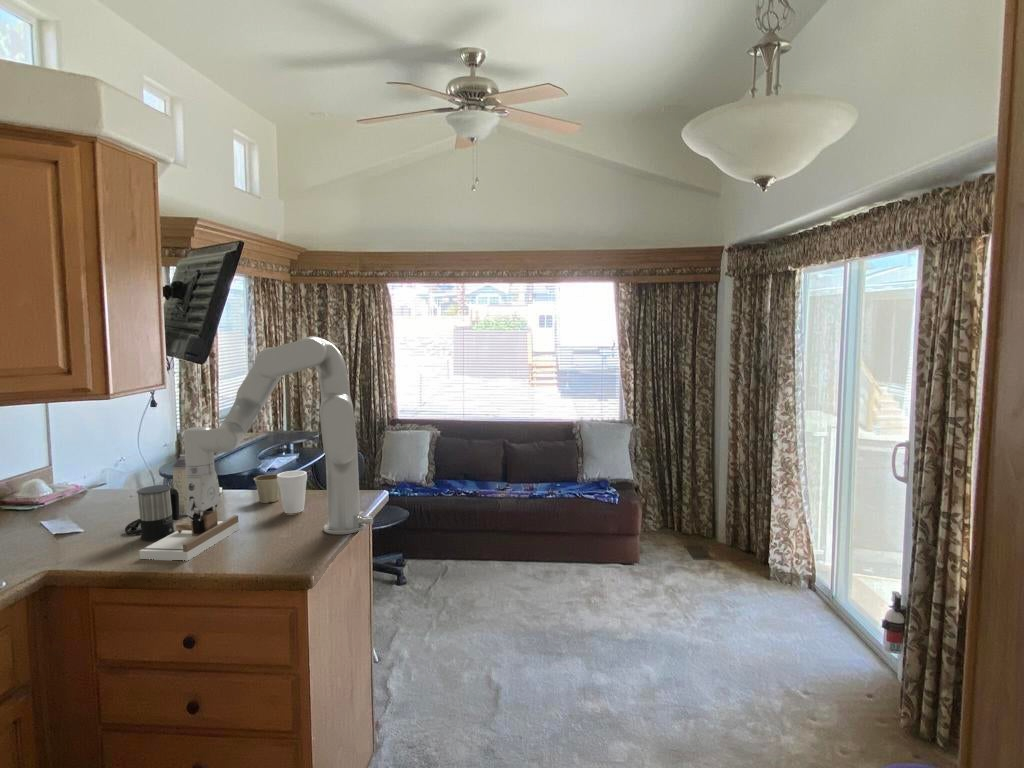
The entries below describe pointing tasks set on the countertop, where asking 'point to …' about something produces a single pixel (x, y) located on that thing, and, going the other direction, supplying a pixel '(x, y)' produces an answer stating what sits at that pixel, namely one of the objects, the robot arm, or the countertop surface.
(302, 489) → the foam cup
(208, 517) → the wooden block
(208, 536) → the board
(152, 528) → the milk frother
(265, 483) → the flower pot
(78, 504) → the countertop surface
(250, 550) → the countertop surface
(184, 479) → the aerosol can
